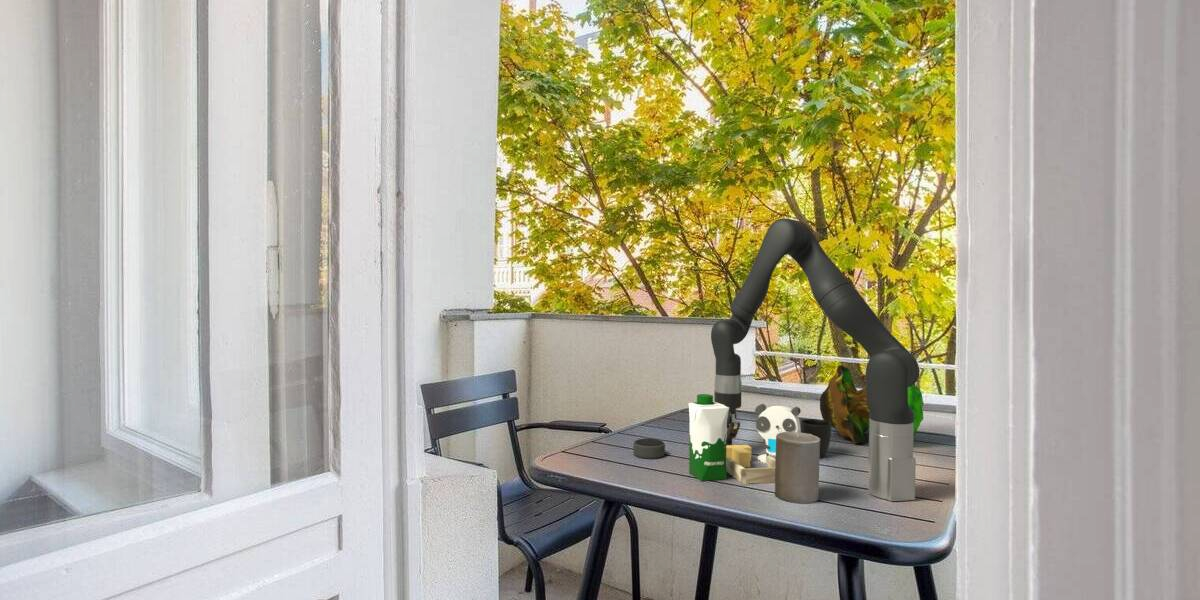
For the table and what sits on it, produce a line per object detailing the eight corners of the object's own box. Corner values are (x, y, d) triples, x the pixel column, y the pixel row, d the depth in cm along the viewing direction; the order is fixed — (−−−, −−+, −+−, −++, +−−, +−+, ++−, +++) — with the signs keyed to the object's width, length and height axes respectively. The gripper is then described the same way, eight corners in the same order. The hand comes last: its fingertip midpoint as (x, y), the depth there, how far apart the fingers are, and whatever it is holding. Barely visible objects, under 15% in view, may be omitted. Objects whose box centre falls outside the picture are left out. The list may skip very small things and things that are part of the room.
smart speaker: (640, 461, 166) (640, 446, 166) (628, 452, 175) (628, 439, 174) (670, 458, 169) (670, 444, 169) (657, 450, 177) (657, 436, 177)
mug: (815, 447, 181) (816, 416, 181) (836, 459, 169) (836, 425, 169) (789, 448, 180) (790, 416, 180) (808, 459, 168) (808, 425, 168)
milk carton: (715, 469, 158) (716, 393, 158) (732, 480, 150) (733, 399, 149) (684, 472, 156) (685, 394, 156) (699, 483, 147) (700, 400, 147)
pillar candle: (766, 495, 139) (767, 430, 138) (787, 486, 145) (789, 424, 145) (806, 507, 132) (808, 439, 131) (826, 496, 138) (828, 431, 138)
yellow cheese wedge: (758, 467, 161) (759, 452, 161) (730, 468, 159) (730, 453, 159) (746, 459, 169) (746, 444, 169) (719, 460, 167) (719, 445, 167)
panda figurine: (750, 462, 165) (751, 407, 165) (760, 452, 175) (761, 400, 175) (796, 468, 160) (797, 412, 159) (803, 458, 170) (804, 404, 169)
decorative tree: (836, 462, 202) (936, 451, 190) (820, 444, 181) (931, 430, 168) (822, 384, 215) (915, 369, 202) (805, 359, 193) (907, 340, 181)
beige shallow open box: (788, 482, 149) (789, 467, 149) (742, 484, 147) (742, 469, 147) (769, 469, 159) (769, 455, 159) (725, 471, 157) (726, 457, 157)
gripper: (750, 393, 166) (749, 456, 167) (731, 386, 179) (731, 444, 180) (723, 394, 165) (723, 458, 165) (707, 386, 178) (706, 445, 178)
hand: (727, 450), depth 172 cm, fingers closed
